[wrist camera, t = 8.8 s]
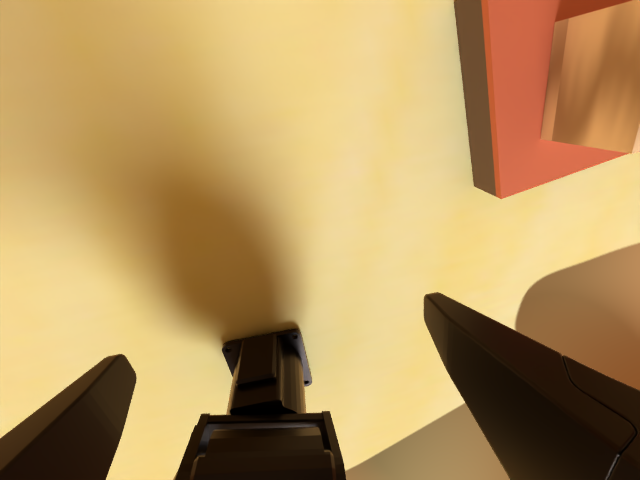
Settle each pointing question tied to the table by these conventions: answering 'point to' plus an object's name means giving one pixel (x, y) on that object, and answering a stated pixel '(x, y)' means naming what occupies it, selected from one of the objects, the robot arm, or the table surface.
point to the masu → (595, 80)
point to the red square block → (515, 92)
